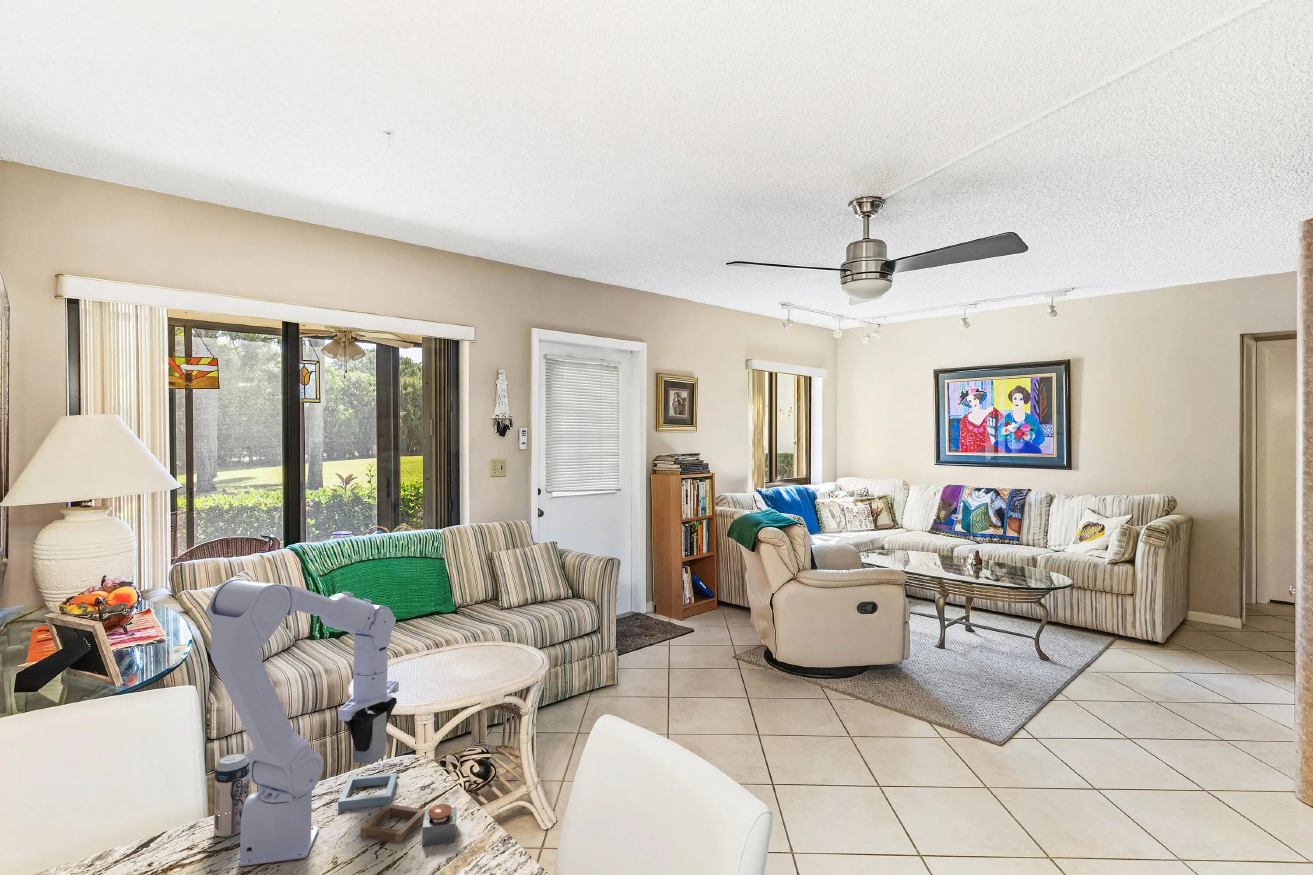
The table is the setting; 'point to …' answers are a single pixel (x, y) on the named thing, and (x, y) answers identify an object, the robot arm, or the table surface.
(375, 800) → the light blue square frame
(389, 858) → the table surface
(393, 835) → the walnut socket
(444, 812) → the plunger
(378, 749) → the grey metal block
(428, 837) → the frame
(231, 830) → the beer can
